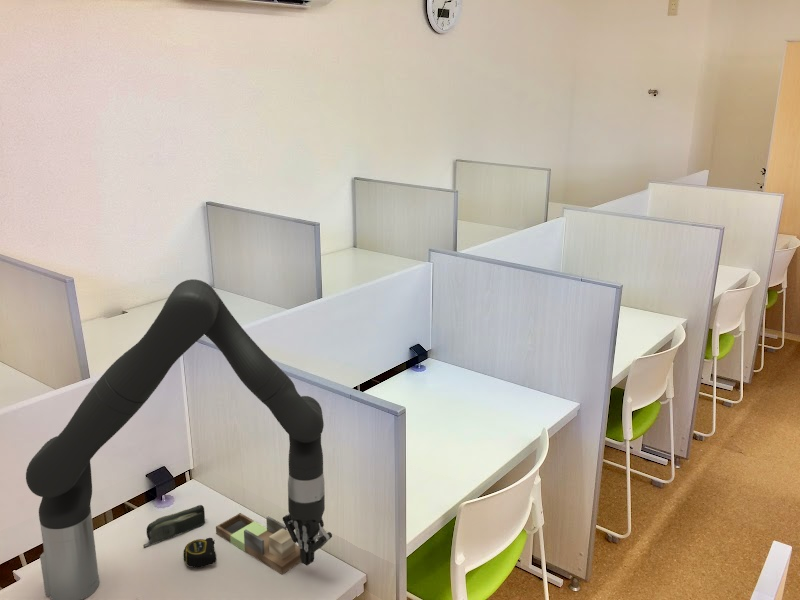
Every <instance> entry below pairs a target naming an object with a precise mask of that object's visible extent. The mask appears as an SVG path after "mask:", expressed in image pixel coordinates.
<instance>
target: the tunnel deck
mask: <svg viewBox="0 0 800 600" xmlns="http://www.w3.org/2000/svg"><path fill="white" fill-rule="evenodd" d="M254 521H255V520H254V519H252V518H250V517H249V516H246V515H245V514H243V513H241V512H240V513H238V514H236V515H234V516H232V517H230V518H229V519H227V520H225V521H223V522H222V523H220V524H218V525H216V526H215V531H216V532H215V534H216V535H217V536H219V537H221V538H222V539H224V540H225V541H227V542H229V543H230V544H232V543H231V541H230V535H232V534H233V533H235V532H237V531H238V530H240V529H242V528H244V527H245V526H247V525H249V524H250V523H252V522H254ZM266 528H267V531H265V532H263V533H262V534H260V535H259V536H257V535H255V534H253V533H251V532H250V531H248V530H244V544H245V551H244V552H245V553H246V554H248V555H249V556H251V557H253V558H254V559H256V560H258V561H260V562H261V563H262V564H264V565H266V566H267V567H269V568H270V569H272V570H273V571H276V572H277V573H279V574H280V575H284V574H285V573H287V572H288V571H289V570H291V569H292V568H294V567H295V566H297V565H299V564H300V563H301V558H300V548H299V546H298V545H297V544H296V543H295V551H294V552H293V553H291V554H290V555H288V556H287V557H285V558H284V559H280V558H278V557H277V556H275V555H273V554H272V553H270V552H269V536H271V535H272V534H274V533H276V532H277V531H279V530H281V529H282V528H283V529H285V530H287V528H286V525H285V523H284V524H283V523H282V522H280V521H278V520H276V519H274V518H272V517H271V516H266Z"/></svg>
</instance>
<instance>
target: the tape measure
mask: <svg viewBox="0 0 800 600" xmlns="http://www.w3.org/2000/svg"><path fill="white" fill-rule="evenodd" d="M215 541H216V540H215V539H213V538H212V537H208V538H207V537H206V538H203V539H202V538H198V539H195V540H192V541H190V542H188V543H187V544H186V545H185V547H184V549H183V561H184V563H185V564H186V565H187V566H188V567H190V568H194V569H195V568H196V569H199V568H200V569H201V568H204V567H208V566H211V565H214V564H215V563H217V554H216V551H215Z"/></svg>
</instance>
